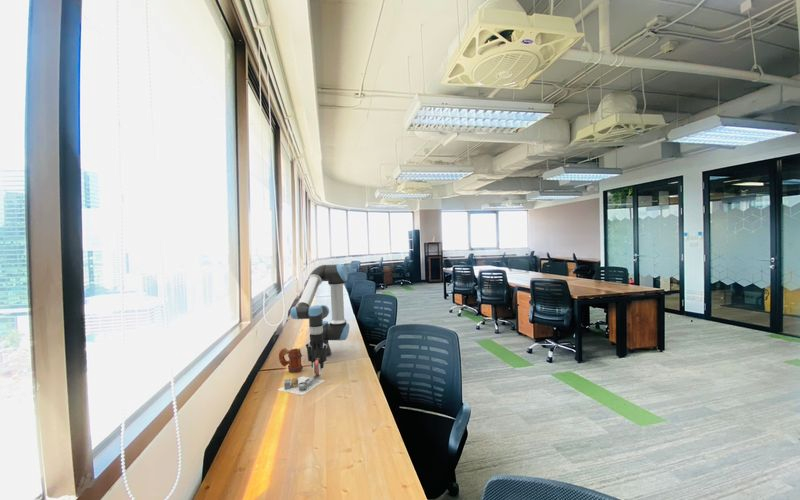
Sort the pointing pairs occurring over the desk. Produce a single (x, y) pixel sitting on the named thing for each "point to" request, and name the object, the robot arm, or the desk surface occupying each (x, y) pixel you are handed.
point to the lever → (309, 381)
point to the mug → (291, 359)
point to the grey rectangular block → (287, 384)
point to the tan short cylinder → (294, 383)
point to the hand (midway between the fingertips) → (317, 373)
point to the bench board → (303, 391)
